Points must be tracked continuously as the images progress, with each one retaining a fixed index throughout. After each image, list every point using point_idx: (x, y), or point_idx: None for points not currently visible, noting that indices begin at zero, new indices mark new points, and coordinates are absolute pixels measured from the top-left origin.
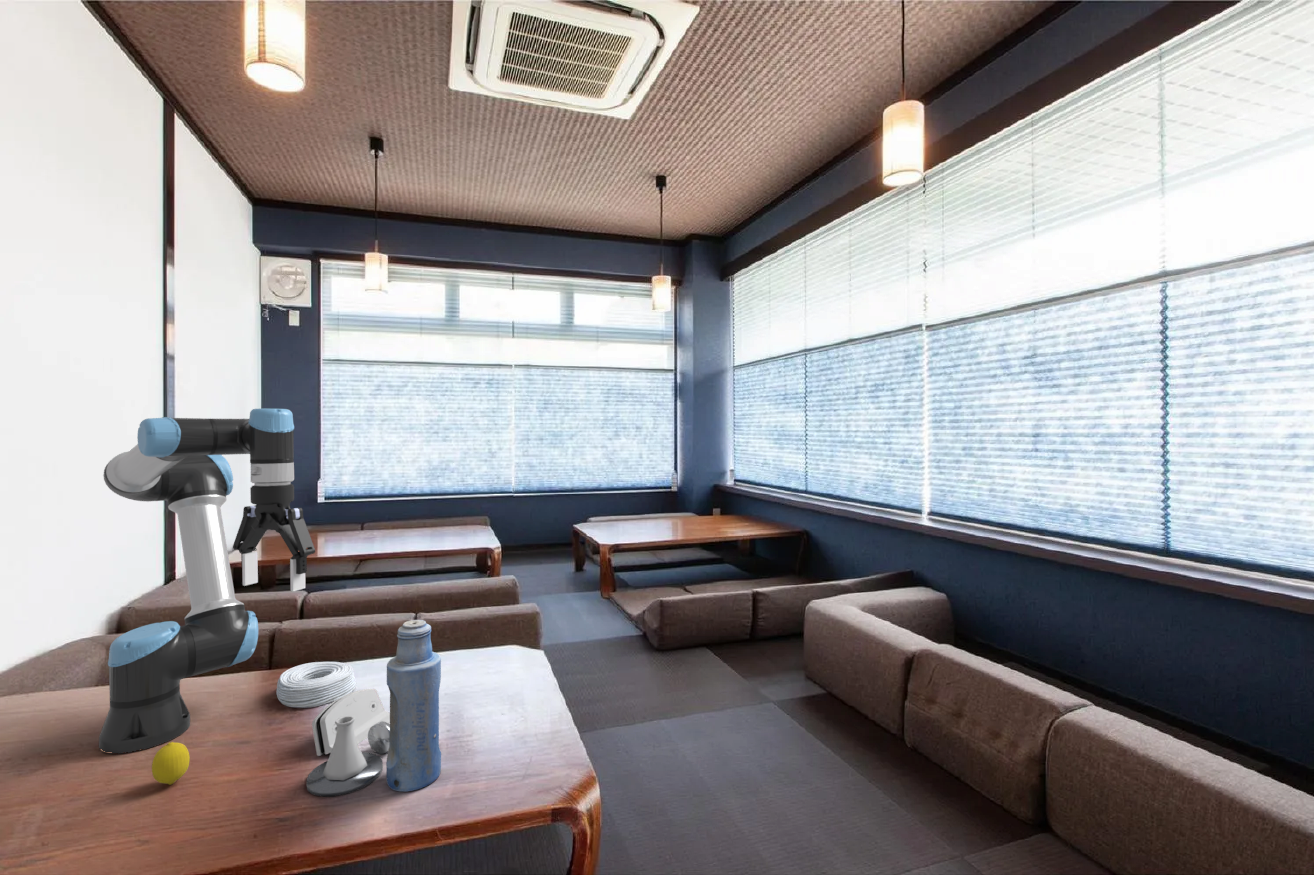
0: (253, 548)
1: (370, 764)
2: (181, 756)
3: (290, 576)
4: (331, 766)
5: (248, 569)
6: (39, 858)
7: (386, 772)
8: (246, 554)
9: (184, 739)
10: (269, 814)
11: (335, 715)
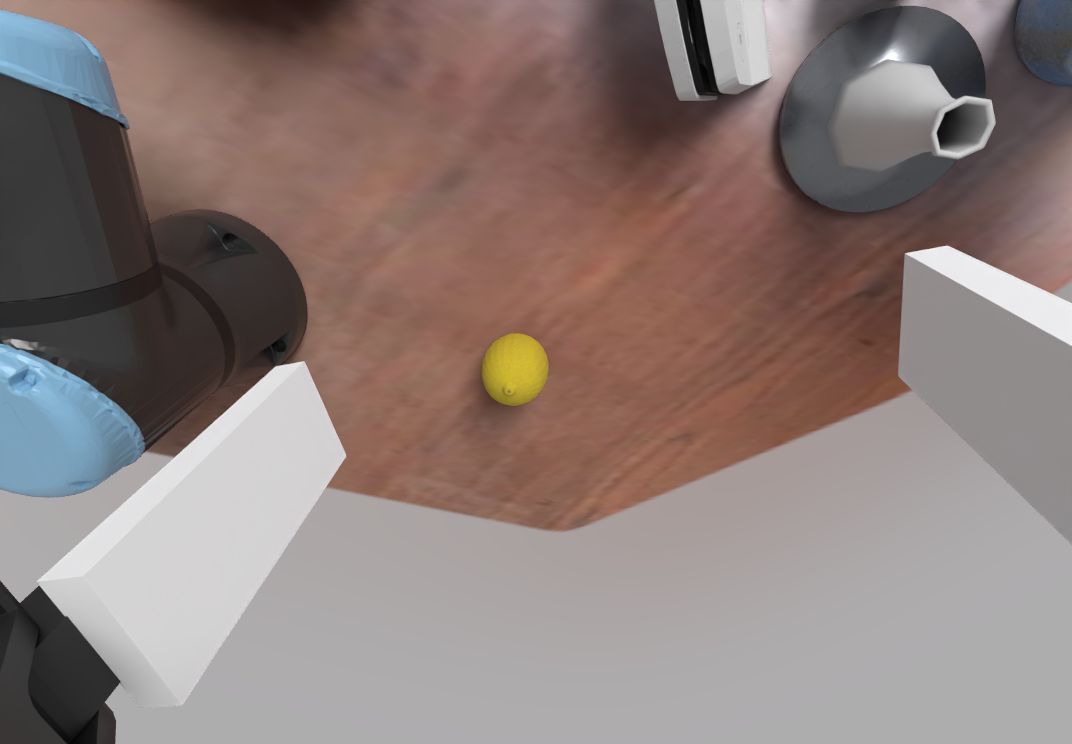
0: (30, 660)
1: (928, 53)
2: (542, 369)
3: (981, 456)
4: (889, 165)
5: (270, 519)
6: (583, 515)
7: (1049, 72)
8: (174, 684)
9: (315, 255)
10: (828, 297)
11: (734, 34)
